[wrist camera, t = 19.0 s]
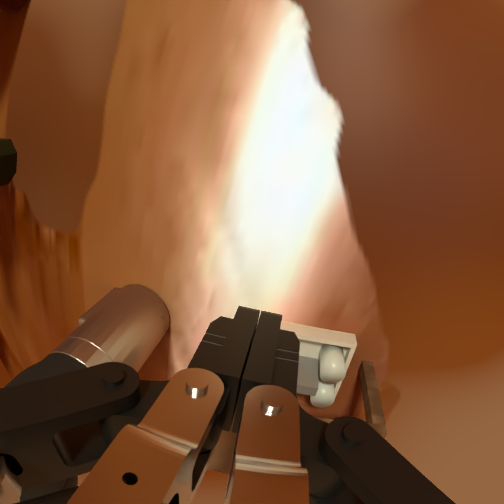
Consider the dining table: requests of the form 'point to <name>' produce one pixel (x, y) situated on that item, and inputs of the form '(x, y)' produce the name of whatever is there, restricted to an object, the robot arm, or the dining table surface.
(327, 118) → the dining table surface
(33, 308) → the dining table surface
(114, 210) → the dining table surface
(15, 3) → the pepper mill
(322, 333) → the tray
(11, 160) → the wine bottle
